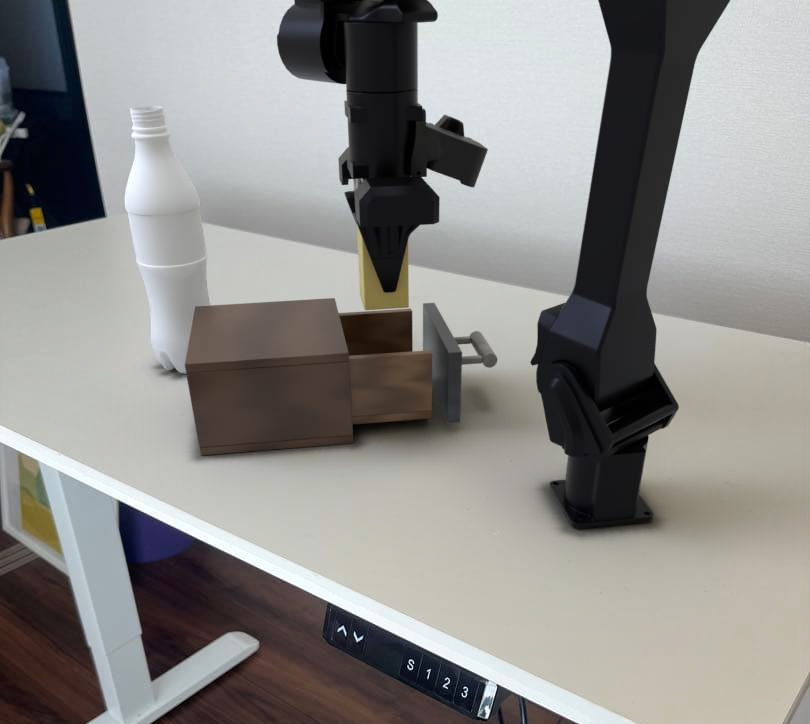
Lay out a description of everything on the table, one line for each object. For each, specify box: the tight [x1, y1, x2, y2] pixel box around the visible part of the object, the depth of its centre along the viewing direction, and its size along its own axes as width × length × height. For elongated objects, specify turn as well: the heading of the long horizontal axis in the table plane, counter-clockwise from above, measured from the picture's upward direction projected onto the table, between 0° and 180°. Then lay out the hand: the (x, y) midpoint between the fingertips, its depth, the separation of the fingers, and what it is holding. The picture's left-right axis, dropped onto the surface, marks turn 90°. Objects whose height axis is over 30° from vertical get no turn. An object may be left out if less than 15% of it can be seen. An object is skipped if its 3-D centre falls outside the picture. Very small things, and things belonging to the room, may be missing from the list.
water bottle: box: [124, 105, 212, 375], centre depth 82 cm, size 7×7×25 cm
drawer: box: [338, 302, 498, 425], centre depth 78 cm, size 17×13×7 cm
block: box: [356, 225, 410, 311], centre depth 73 cm, size 4×4×7 cm
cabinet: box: [185, 297, 354, 456], centre depth 77 cm, size 14×15×9 cm
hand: (386, 284), depth 74 cm, fingers closed on block, 4 cm apart
